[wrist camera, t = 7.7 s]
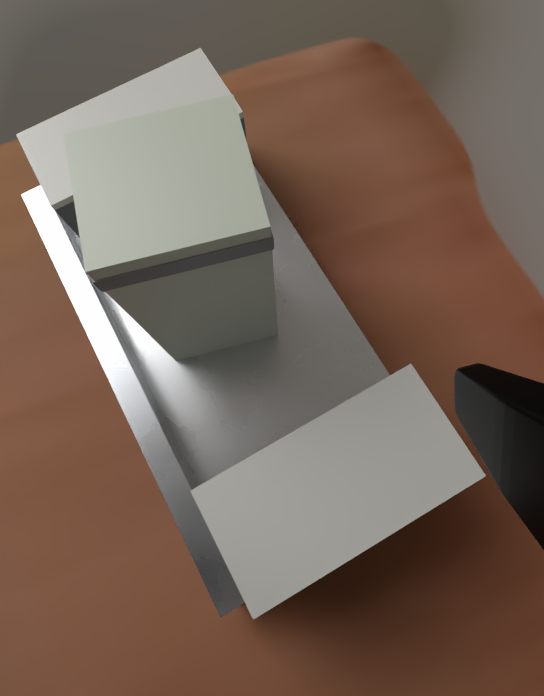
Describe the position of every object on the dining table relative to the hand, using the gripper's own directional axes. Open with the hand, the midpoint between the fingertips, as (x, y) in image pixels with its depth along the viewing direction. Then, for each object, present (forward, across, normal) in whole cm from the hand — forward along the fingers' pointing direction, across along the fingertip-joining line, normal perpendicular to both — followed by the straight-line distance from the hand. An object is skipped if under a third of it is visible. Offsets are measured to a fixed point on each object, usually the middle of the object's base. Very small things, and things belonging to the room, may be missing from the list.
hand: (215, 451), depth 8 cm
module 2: (+7, -3, +8) cm, 11 cm away
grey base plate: (+13, -1, +4) cm, 13 cm away
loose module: (+12, 0, +2) cm, 13 cm away
